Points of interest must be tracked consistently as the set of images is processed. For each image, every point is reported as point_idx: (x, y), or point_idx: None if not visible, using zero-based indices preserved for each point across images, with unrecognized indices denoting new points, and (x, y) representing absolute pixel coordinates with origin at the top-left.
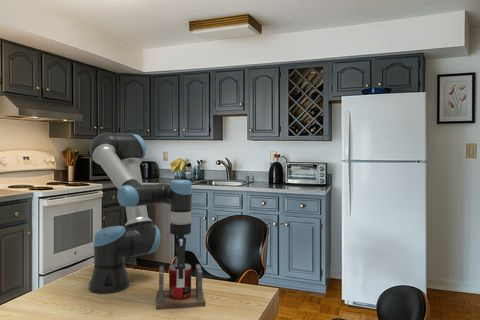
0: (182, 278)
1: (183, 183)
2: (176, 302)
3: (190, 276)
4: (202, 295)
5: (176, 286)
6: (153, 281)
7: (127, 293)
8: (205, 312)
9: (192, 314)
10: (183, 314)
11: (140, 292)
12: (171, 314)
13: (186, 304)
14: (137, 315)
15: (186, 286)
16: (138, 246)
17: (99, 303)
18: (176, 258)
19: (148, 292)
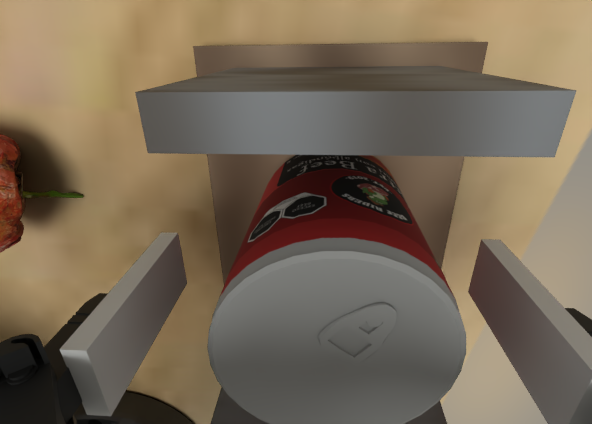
0: (576, 313)
1: None
2: (428, 230)
3: (383, 204)
4: (348, 54)
5: (470, 294)
6: (40, 306)
7: (206, 392)
8: (580, 52)
9: (569, 140)
10: (544, 189)
11: (196, 354)
12: (514, 245)
13: (457, 173)
14: (462, 365)
15: (409, 208)
16: None
17: None
18: (113, 406)
19: (197, 327)
